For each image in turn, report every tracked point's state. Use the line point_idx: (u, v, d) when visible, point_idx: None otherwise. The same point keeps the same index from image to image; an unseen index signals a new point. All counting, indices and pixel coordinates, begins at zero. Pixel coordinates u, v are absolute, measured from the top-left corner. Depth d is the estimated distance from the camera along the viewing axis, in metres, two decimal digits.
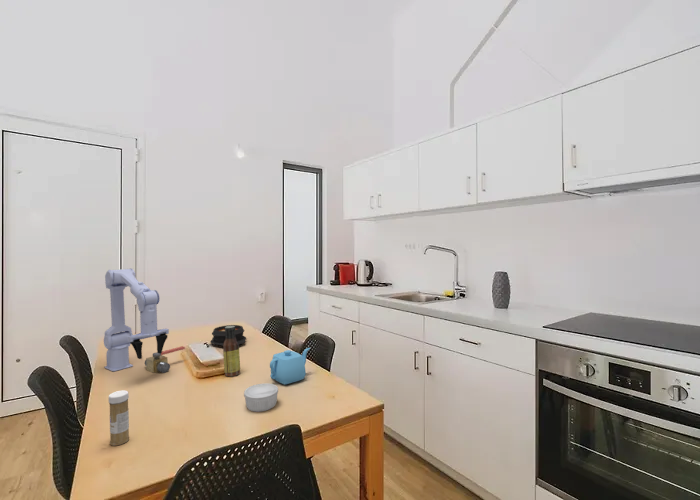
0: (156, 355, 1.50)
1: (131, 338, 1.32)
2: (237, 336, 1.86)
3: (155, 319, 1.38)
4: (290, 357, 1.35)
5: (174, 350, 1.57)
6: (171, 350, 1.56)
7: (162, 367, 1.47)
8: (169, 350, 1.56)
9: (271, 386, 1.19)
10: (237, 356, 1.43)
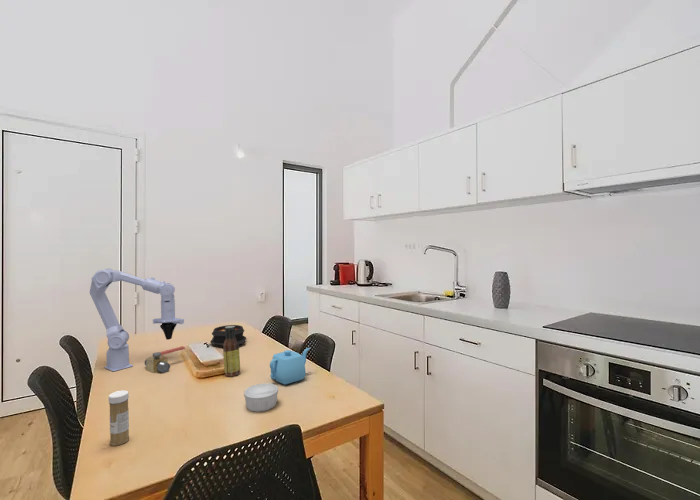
0: (156, 355, 1.50)
1: (153, 320, 1.62)
2: (237, 336, 1.86)
3: None
4: (290, 357, 1.35)
5: (174, 350, 1.57)
6: (171, 350, 1.56)
7: (162, 367, 1.47)
8: (169, 350, 1.56)
9: (271, 386, 1.19)
10: (237, 356, 1.43)
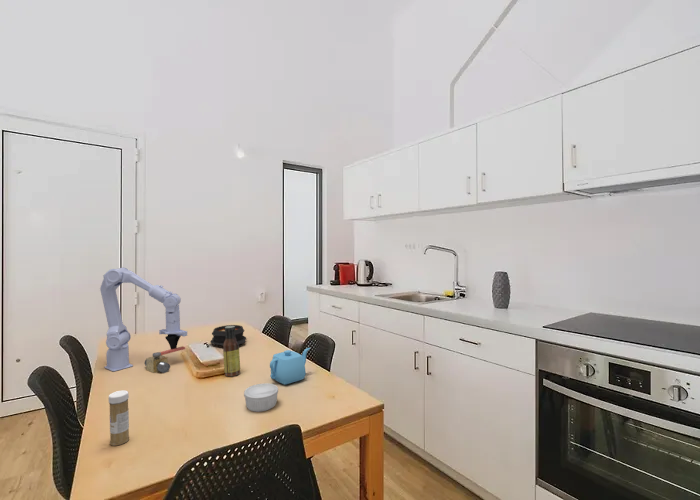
0: (156, 355, 1.50)
1: (159, 331, 1.60)
2: (237, 336, 1.86)
3: None
4: (290, 357, 1.35)
5: (174, 350, 1.57)
6: (171, 350, 1.56)
7: (162, 367, 1.47)
8: (169, 350, 1.56)
9: (271, 386, 1.19)
10: (237, 356, 1.43)
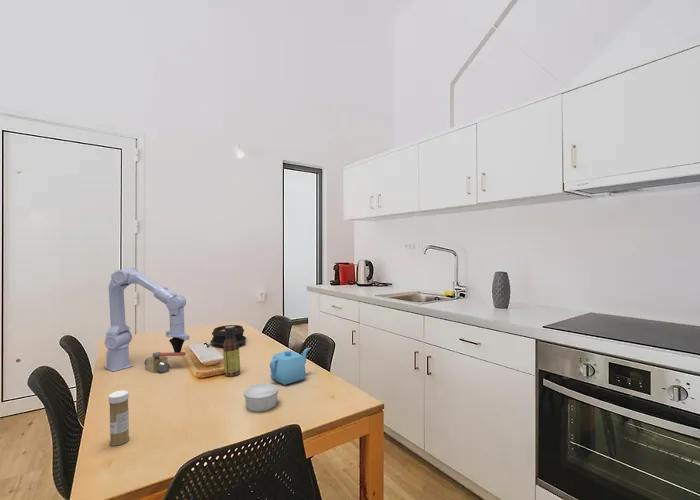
0: (153, 355, 1.50)
1: (166, 333, 1.57)
2: (237, 336, 1.86)
3: None
4: (290, 357, 1.35)
5: (172, 354, 1.51)
6: (169, 354, 1.51)
7: (162, 367, 1.47)
8: (168, 353, 1.51)
9: (271, 386, 1.19)
10: (237, 356, 1.43)
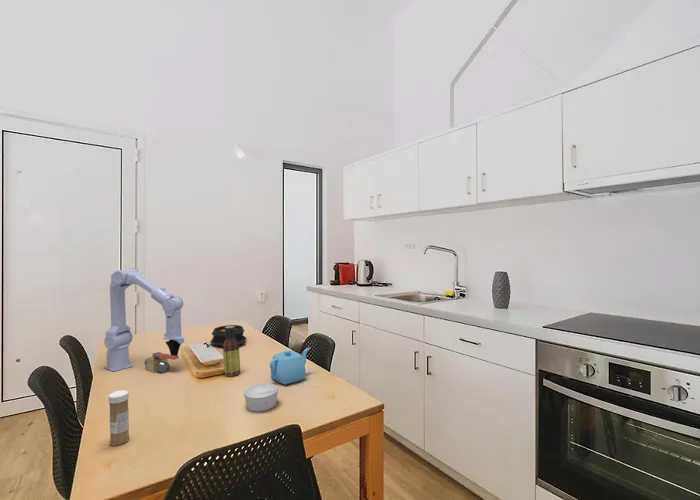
0: None
1: (164, 335, 1.54)
2: (237, 336, 1.86)
3: (180, 323, 1.51)
4: (290, 357, 1.35)
5: (166, 357, 1.48)
6: (164, 355, 1.48)
7: (162, 367, 1.47)
8: (164, 355, 1.49)
9: (271, 386, 1.19)
10: (237, 356, 1.43)
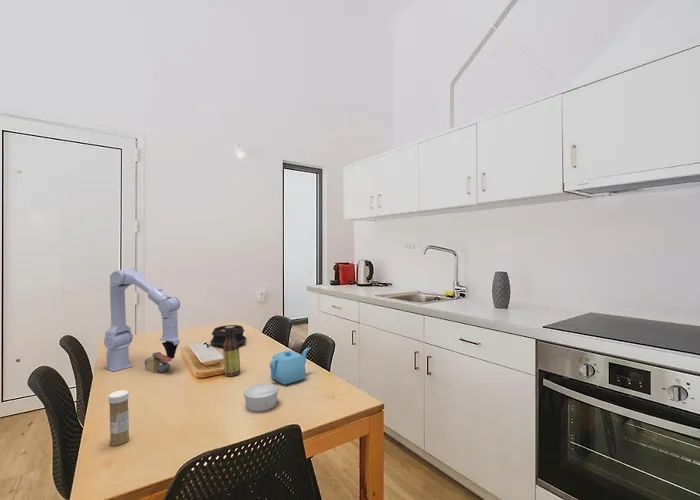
0: None
1: (162, 336, 1.52)
2: (237, 336, 1.86)
3: (177, 324, 1.49)
4: (290, 357, 1.35)
5: (161, 358, 1.46)
6: (160, 356, 1.47)
7: (162, 367, 1.47)
8: (160, 356, 1.48)
9: (271, 386, 1.19)
10: (237, 356, 1.43)
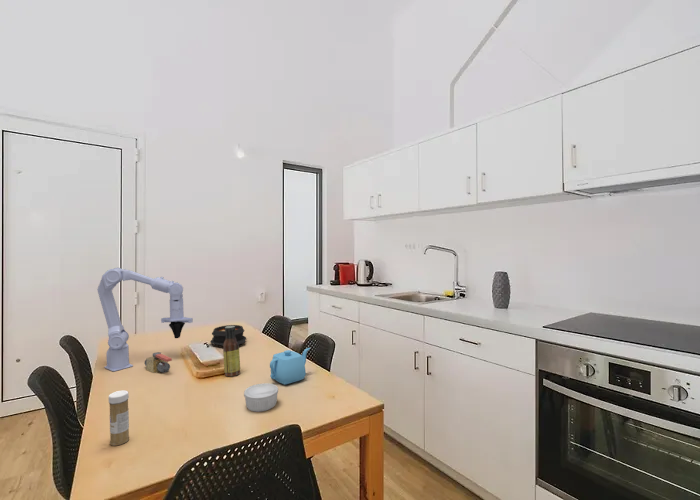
0: None
1: (161, 319, 1.64)
2: (237, 336, 1.86)
3: None
4: (290, 357, 1.35)
5: (161, 358, 1.46)
6: (160, 356, 1.47)
7: (162, 367, 1.47)
8: (160, 356, 1.48)
9: (271, 386, 1.19)
10: (237, 356, 1.43)
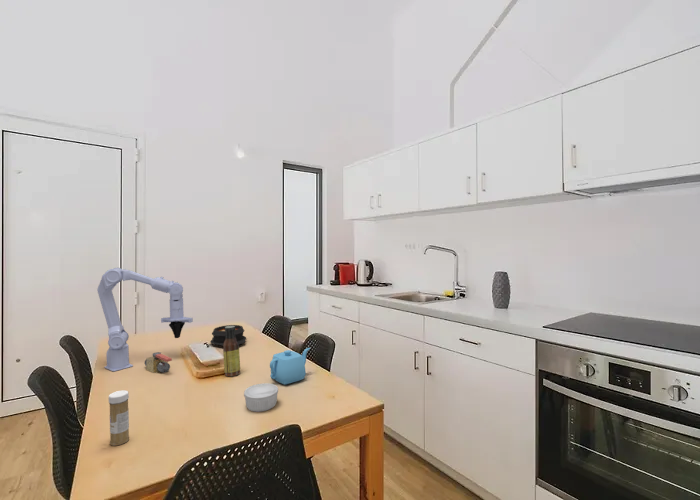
0: None
1: (161, 319, 1.64)
2: (237, 336, 1.86)
3: None
4: (290, 357, 1.35)
5: (161, 358, 1.46)
6: (160, 356, 1.47)
7: (162, 367, 1.47)
8: (160, 356, 1.48)
9: (271, 386, 1.19)
10: (237, 356, 1.43)
